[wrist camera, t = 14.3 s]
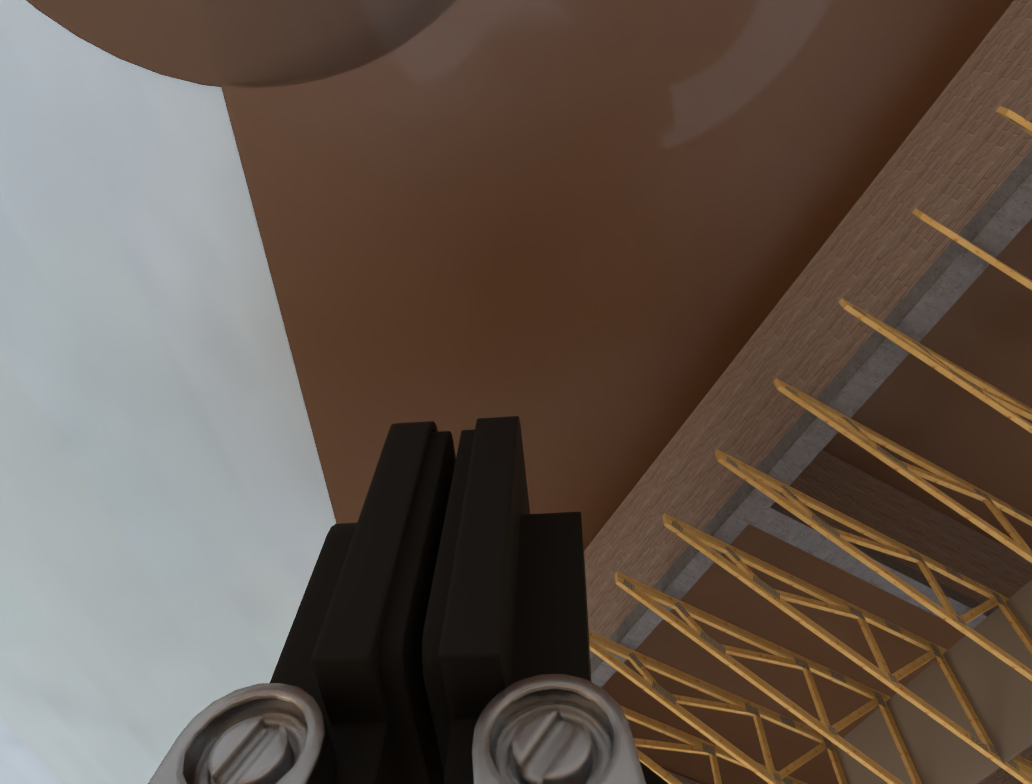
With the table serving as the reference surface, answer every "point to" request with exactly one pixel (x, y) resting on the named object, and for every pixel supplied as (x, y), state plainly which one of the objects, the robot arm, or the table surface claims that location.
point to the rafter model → (853, 472)
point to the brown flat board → (600, 261)
